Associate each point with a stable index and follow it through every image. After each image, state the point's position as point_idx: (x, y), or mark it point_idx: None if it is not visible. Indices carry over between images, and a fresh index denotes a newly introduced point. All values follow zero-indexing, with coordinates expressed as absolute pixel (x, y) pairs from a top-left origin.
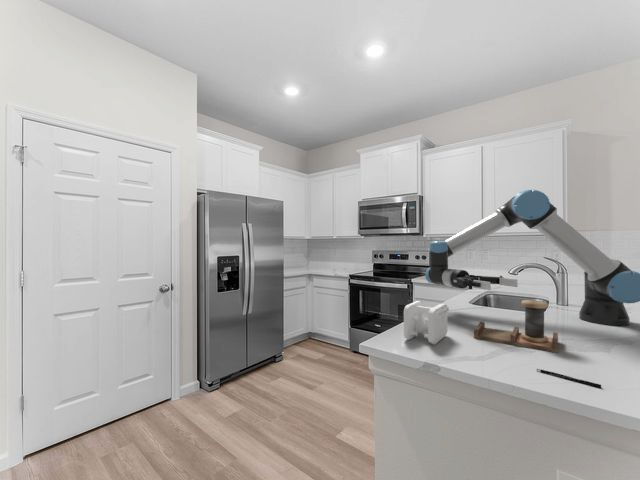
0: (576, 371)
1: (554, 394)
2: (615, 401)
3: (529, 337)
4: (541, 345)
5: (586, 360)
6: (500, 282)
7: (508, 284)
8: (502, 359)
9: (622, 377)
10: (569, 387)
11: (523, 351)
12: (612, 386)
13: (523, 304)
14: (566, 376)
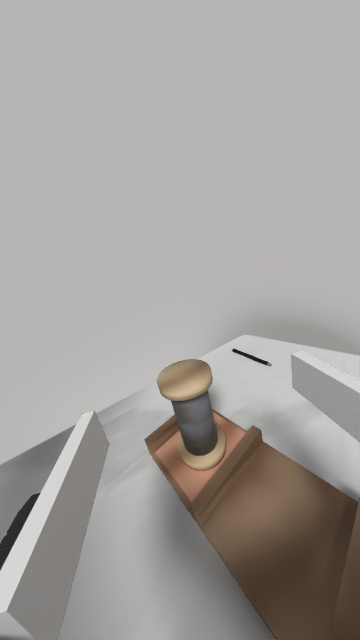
0: (228, 368)
1: (278, 341)
2: (239, 341)
3: (219, 428)
4: (215, 414)
5: None
6: (45, 617)
7: (89, 492)
8: None
9: None
10: (258, 348)
11: (255, 412)
12: (222, 353)
13: (211, 377)
14: (249, 356)
